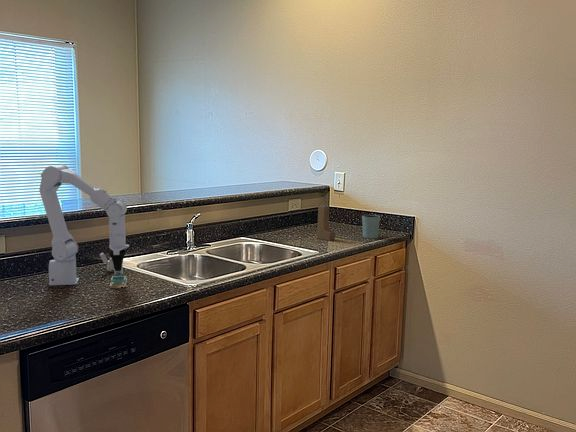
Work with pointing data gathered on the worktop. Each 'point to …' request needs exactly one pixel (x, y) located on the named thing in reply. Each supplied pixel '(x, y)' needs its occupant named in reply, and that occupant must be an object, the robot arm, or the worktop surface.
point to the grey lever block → (109, 262)
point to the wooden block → (324, 224)
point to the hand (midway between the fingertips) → (118, 269)
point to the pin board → (118, 281)
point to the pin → (119, 271)
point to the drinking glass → (370, 226)
